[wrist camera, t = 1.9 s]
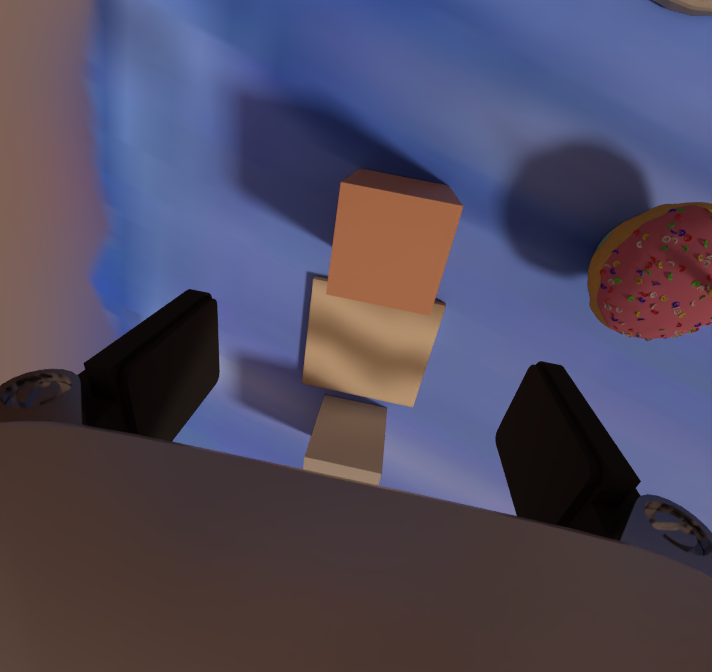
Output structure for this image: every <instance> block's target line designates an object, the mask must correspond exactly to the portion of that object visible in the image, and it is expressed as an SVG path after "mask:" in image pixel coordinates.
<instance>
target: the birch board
mask: <svg viewBox="0 0 712 672" xmlns="http://www.w3.org/2000/svg"><path fill="white" fill-rule="evenodd" d="M327 283H328V279H326V278H322V277H317V276H315V277H314V279H313V287H312V296H311V305H310V314H309V324H308V333H307V342H306V351H305V360H304V369H303V378H302V384H307V385H312V386H316V387H321V388H326V389H330V390H335V391H340V392H344V393H349V394H354V395H358V396H363V397H368V398H372V399H377V400H382V401H386V402H391V403H395V404H400V405H405V406H409V407H413V405H414V402H415V399H416V396H417V393H418V390H419V387H420V384H421V381H422V378H423V375H424V372H425V369H426V366H427V363H428V359H429V356H430V353H431V350H432V347H433V344H434V341H435V338H436V335H437V332H438V329H439V326H440V323H441V320H442V316H443V313H444V310H445V307H446V304H445V303H443V302H438V301H434V304H433V308H432V311H431V314H430V316H428V315H423V314H418V313H414V312H409V311H404V310H399V309H394V308H389V307H385V306H380V305H375V304H370V303H365V302H360V301H356V300H351V299H346V298H341V297H336V296H331V295H327V294H326V291H327Z"/></svg>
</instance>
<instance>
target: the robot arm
mask: <svg viewBox="0 0 712 672" xmlns="http://www.w3.org/2000/svg"><path fill="white" fill-rule="evenodd" d="M653 1H655V2H657V3H659V4H660V5H662V6H664V7H665V8H667V9H669V10H671V11H675V12H679V13H683V14H687V15H691V16H709V15H712V0H653ZM84 366H85V370H84V371H82V372H81V373H80V374H78V375H76V374H75V373H73V372H71V371H68V370H64V369H44V370H37V371H33V372H28V373H25V374H22V375H20V376H17V377H14V378H12V379H10V380H8V381H7V382H5V383H3V384H2V385H0V672H712V533H711V531H710V530H709V529H708V528H707V527H706V526H705V525H704V524H703V523H702V522H701V521H700V520H699V519H698V518H696V517H695V516H694V515H693V514H691V513H690V512H689V511H687V510H686V509H684V508H683V507H681V506H679V505H678V504H676V503H674V502H672V501H670V500H668V499H665V498H662V497H660V496H656V495H649V494H647V495H642V496H640V494H639V493H638V491H637V490H636V487H637V486H638V484H639V483H640V482H641V481H640V479H639V478H638V476H637V475H636V474H635V472H634V471H633V469H632V468H631V466H630V465H629V463H628V462H627V460H626V459H625V457H624V456H623V454H622V453H621V451H620V450H619V448H618V447H617V445H616V444H615V443H614V441H613V440H612V438H611V437H610V435H609V434H608V432H607V431H606V429H605V428H604V426H603V425H602V423H601V422H600V420H599V419H598V417H597V416H596V414H595V413H594V412H593V410H592V409H591V407H590V406H589V404H588V403H587V401H586V400H585V398H584V397H583V395H582V394H581V392H580V391H579V389H578V388H577V386H576V385H575V383H574V382H573V380H572V379H571V378H570V376H569V375H568V373H567V372H566V370H565V369H564V367H563V366H561V365H557V364H552V363H547V362H542V361H540V362H538V363H537V364H536V365H531V366H530V367H529V368H528V370H527V372H526V374H525V376H524V378H523V380H522V382H521V384H520V386H519V388H518V390H517V392H516V394H515V396H514V398H513V400H512V402H511V404H510V406H509V408H508V410H507V412H506V414H505V416H504V418H503V420H502V422H501V424H500V426H499V428H498V430H497V433H496V446H497V449H498V452H499V456H500V459H501V463H502V466H503V470H504V473H505V476H506V480H507V483H508V487H509V490H510V494H511V497H512V501H513V504H514V507H515V511H516V514H517V516H514V515H509V514H505V513H500V512H496V511H491V510H487V509H482V508H478V507H473V506H469V505H464V504H460V503H455V502H451V501H446V500H442V499H437V498H433V497H428V496H424V495H419V494H415V493H410V492H406V491H401V490H397V489H392V488H387V487H383V486H378V485H374V484H369V483H364V482H360V481H355V480H351V479H346V478H341V477H337V476H332V475H327V474H323V473H318V472H313V471H309V470H304V469H300V468H295V467H290V466H286V465H281V464H276V463H271V462H267V461H262V460H257V459H252V458H248V457H243V456H238V455H233V454H229V453H224V452H219V451H214V450H210V449H205V448H200V447H195V446H191V445H186V444H181V443H176V442H172V441H173V440H174V438H175V437H176V436H177V434H178V433H179V432H180V430H181V429H182V428H183V426H184V425H185V424H186V423H187V421H188V420H189V419H190V417H191V416H192V415H193V413H194V412H195V411H196V409H197V408H198V407H199V406H200V404H201V403H202V402H203V400H204V399H205V398H206V396H207V395H208V394H209V392H210V391H211V390H212V389H213V387H214V386H215V385H216V383H217V381H218V378H219V372H220V371H219V342H218V313H217V301H216V300H215V299H212V296H211V294H210V293H206V292H202V291H197V290H192V289H189V290H187V291H185V292H184V293H182V294H181V295H180V296H178V297H177V298H175V299H174V300H173V301H171V302H170V303H168V304H167V305H165V306H164V307H163V308H161V309H160V310H158V311H157V312H156V313H154V314H153V315H151V316H150V317H148V318H147V319H146V320H144V321H143V322H141V323H140V324H139V325H137V326H136V327H134V328H133V329H132V330H130V331H129V332H127V333H126V334H124V335H123V336H122V337H120V338H119V339H117V340H116V341H115V342H113V343H112V344H110V345H109V346H107V347H106V348H105V349H103V350H102V351H100V352H99V353H98V354H96V355H95V356H93V357H92V358H90V359H89V360H88V361H86V362H85V363H84Z"/></svg>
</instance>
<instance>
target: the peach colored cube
mask: <svg viewBox="0 0 712 672" xmlns="http://www.w3.org/2000/svg"><path fill="white" fill-rule="evenodd" d="M462 209H463V205H462V203H461V202H460V201H459V199H458V198H457V196H456V195H455V194H454V192H453V191H452V189H451V188H450V187H449V186H448V185H443V184H438V183H433V182H428V181H422V180H417V179H412V178H407V177H402V176H397V175H392V174H387V173H382V172H376V171H371V170H366V169H361V168H359V169H358V170H356V171H355V172H354V173H352V174H351V175H350V176H348V177H347V178H346V179H344V180H343V181H342V182H341V185H340V193H339V200H338V208H337V215H336V223H335V230H334V238H333V246H332V253H331V261H330V268H329V276H328V283H327V291H326V294H327V295H331V296H336V297H341V298H346V299H351V300H356V301H360V302H365V303H370V304H375V305H380V306H385V307H389V308H394V309H399V310H404V311H409V312H414V313H418V314H423V315H428V316H430V314H431V311H432V308H433V304H434V301H435V298H436V295H437V291H438V288H439V285H440V281H441V278H442V275H443V272H444V268H445V265H446V262H447V259H448V255H449V252H450V249H451V245H452V242H453V239H454V236H455V232H456V229H457V226H458V223H459V219H460V216H461V213H462Z"/></svg>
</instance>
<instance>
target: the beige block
mask: <svg viewBox="0 0 712 672" xmlns="http://www.w3.org/2000/svg"><path fill="white" fill-rule="evenodd" d="M386 415H387V408H385V407H380V406H375V405H371V404H366V403H361V402H357V401H352V400H347V399H343V398H338V397H333V396H329V395H324V398H323V401H322V404H321V408H320V411H319V414H318V417H317V420H316V423H315V426H314V429H313V432H312V435H311V438H310V442H309V445H308V448H307V451H306V454H305V457H304V465H303V469H304V470H309V471H313V472H318V473H323V474H327V475H332V476H337V477H341V478H346V479H351V480H355V481H360V482H364V483H369V484H374V485H378V484H379V481H380V478H381V475H382V464H383V452H384V440H385V428H386Z"/></svg>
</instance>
